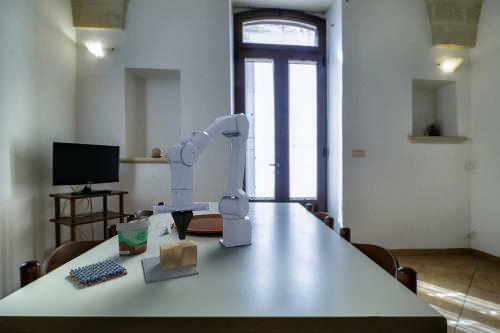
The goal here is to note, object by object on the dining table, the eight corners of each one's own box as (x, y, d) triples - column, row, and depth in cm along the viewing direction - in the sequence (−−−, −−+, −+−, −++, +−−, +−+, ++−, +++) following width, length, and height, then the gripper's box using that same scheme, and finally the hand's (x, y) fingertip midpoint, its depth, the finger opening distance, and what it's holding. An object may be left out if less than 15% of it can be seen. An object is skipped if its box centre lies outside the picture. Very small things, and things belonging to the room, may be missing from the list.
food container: (134, 259, 75) (135, 224, 75) (115, 258, 76) (115, 223, 76) (158, 246, 87) (158, 216, 87) (141, 245, 88) (141, 215, 88)
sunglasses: (168, 235, 102) (166, 222, 102) (146, 239, 101) (144, 226, 101) (175, 227, 116) (173, 215, 116) (156, 230, 115) (154, 219, 115)
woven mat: (111, 265, 72) (111, 257, 72) (129, 276, 65) (129, 268, 65) (66, 277, 64) (66, 269, 64) (81, 291, 57) (81, 282, 57)
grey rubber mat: (184, 254, 80) (184, 252, 80) (198, 273, 65) (198, 272, 65) (142, 260, 75) (142, 258, 75) (146, 283, 60) (146, 281, 60)
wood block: (192, 240, 75) (159, 244, 71) (197, 245, 71) (162, 249, 67) (192, 257, 75) (159, 262, 71) (197, 263, 71) (162, 269, 67)
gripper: (155, 191, 65) (155, 246, 65) (212, 189, 71) (212, 239, 71) (152, 188, 71) (152, 239, 71) (205, 187, 77) (204, 233, 77)
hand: (182, 238), depth 71 cm, fingers closed
